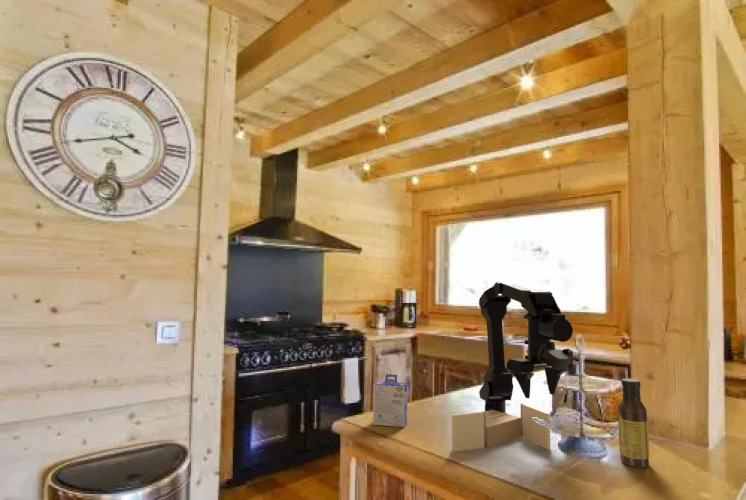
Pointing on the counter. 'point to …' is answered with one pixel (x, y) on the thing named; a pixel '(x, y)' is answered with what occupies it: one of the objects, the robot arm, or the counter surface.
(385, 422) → the ink cartridge box
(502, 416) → the carton
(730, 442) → the counter surface
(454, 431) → the front flap
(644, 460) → the sauce bottle
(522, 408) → the side flap
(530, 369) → the robot arm
